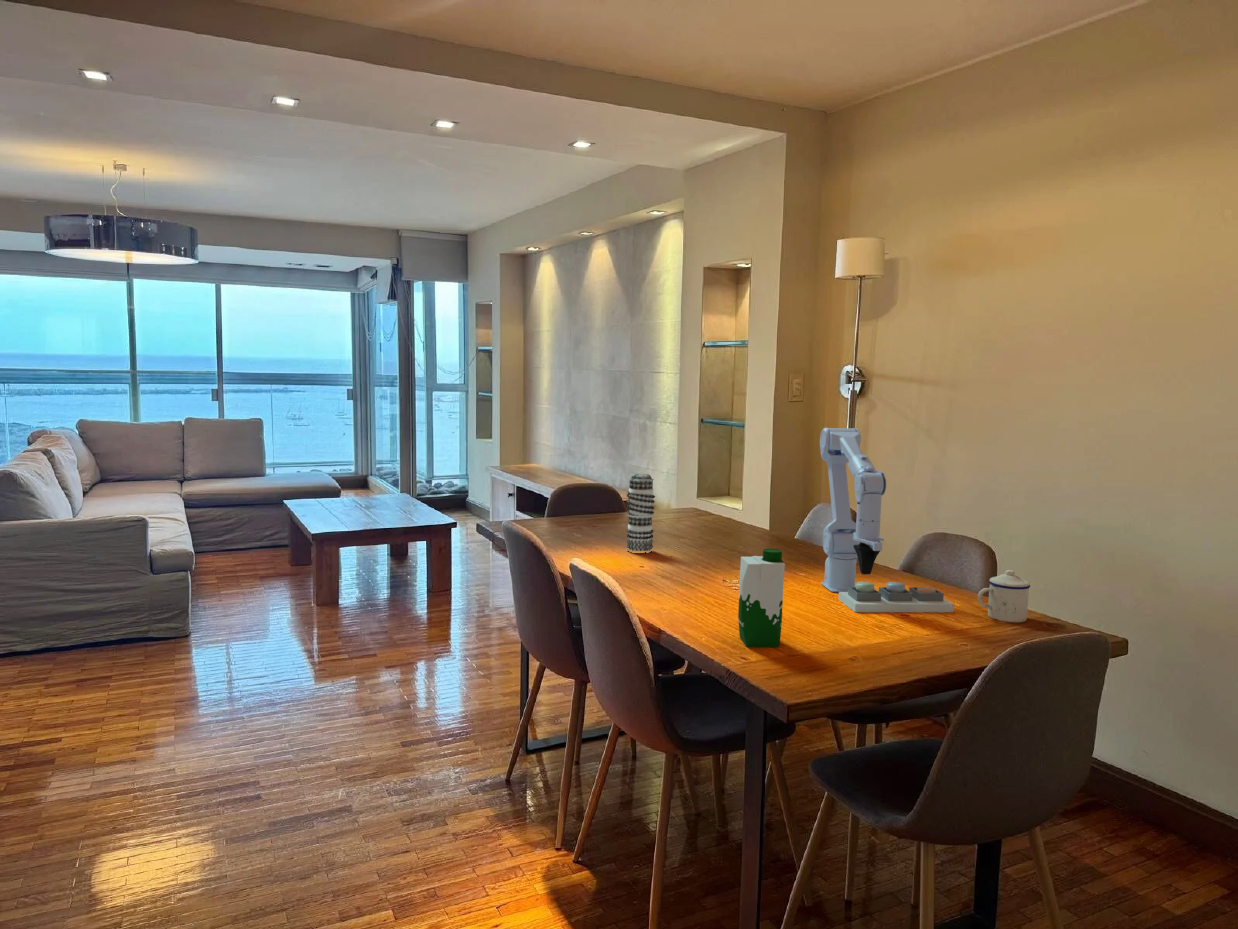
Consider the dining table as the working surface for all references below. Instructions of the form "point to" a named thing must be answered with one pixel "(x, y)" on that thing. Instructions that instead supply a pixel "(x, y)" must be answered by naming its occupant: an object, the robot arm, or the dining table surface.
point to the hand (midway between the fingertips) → (865, 573)
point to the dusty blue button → (895, 587)
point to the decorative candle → (640, 512)
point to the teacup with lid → (1007, 597)
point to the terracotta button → (926, 590)
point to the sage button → (864, 587)
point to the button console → (895, 601)
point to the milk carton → (761, 599)
